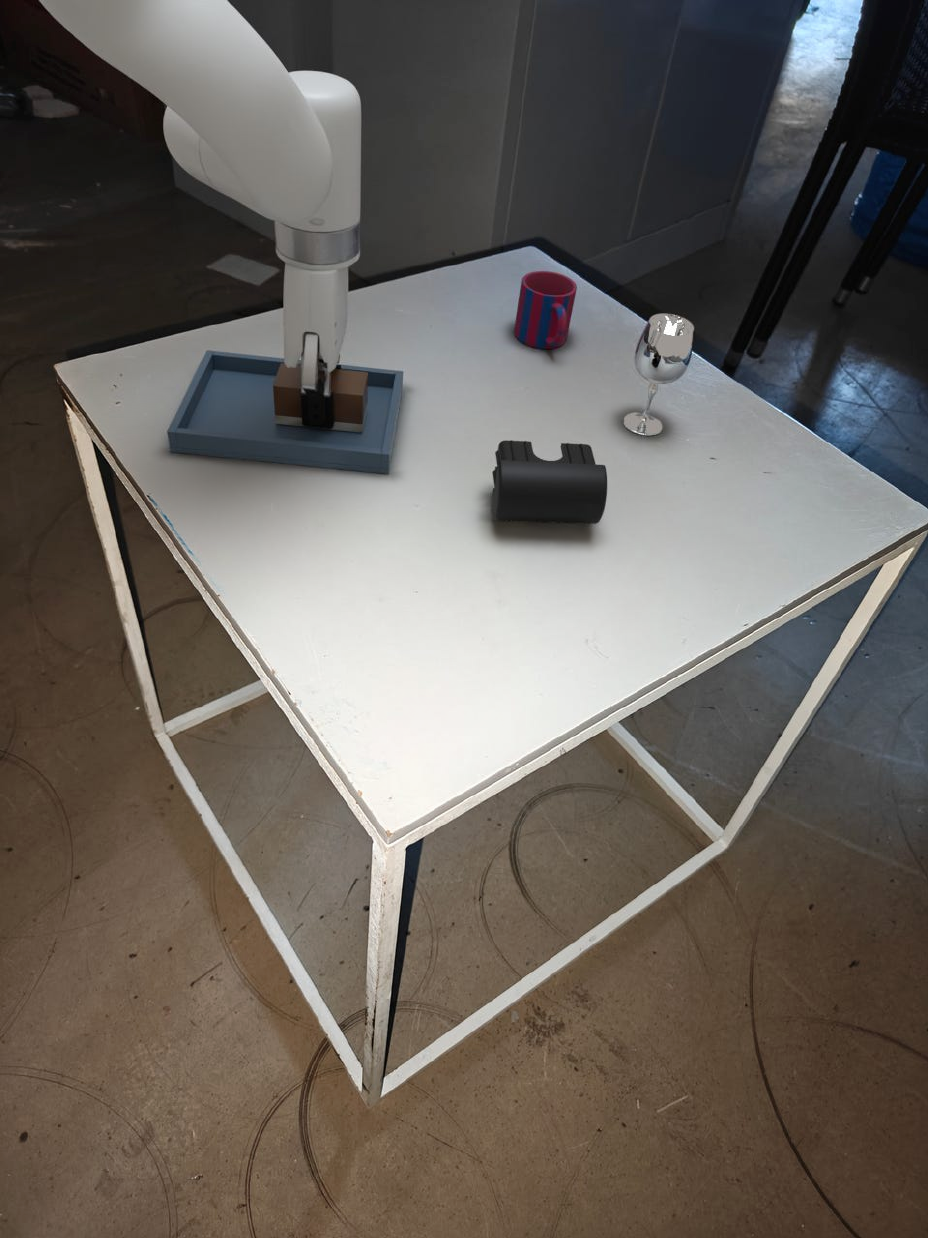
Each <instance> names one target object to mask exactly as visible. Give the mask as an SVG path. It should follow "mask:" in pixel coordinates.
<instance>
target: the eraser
mask: <svg viewBox="0 0 928 1238" xmlns="http://www.w3.org/2000/svg"><path fill="white" fill-rule="evenodd" d="M318 378H319V379H322V381H323V383H324V373H323V372H318ZM331 392H334V426H333V428H332V429H331V430H340V431H349V432H358V433H362V432H363V428H364V423H365V419H366V414H367V408H368V373H367V372H358V371H349V370H340V369H334V370H333V371H331ZM273 396H274V410H275V423H276V424H284V425H293V426H303V427H308V426H304V425H303V424H302V411H301V365H297V366H296V368H288V367H287V366H286V365H285V363H281V365H280V367H279V370H278V373H277V376H276V378H275V381H274V384H273ZM312 428H317V427H312ZM321 429H326V428H321Z"/></svg>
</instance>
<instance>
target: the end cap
mask: <svg viewBox="0 0 928 1238" xmlns="http://www.w3.org/2000/svg"><path fill="white" fill-rule="evenodd" d="M560 451H561V456H562V457H560V458H559V459H555V460H548V459H543V458H540V457H539V456H537V455H536V454H535V453H534V449H533V443H532V441H527V440H512V439H511V440H507V439H506V440H502V441H500V442H499V443H498V446H497V450H496V451H495V453H494V455H495V462H496V466H494V469H493V470H492V472H491V474H492V481H493V487H492V492H491V497H492V499H491V507H490V513H491V517H492V519H493V520H494V521H497V522H512V523H513V522H514V523H515V522H516V523H542V524H566V525H567V524H570V525H591V524H592V525H596V524H598V523H600V522H601V520H602V518H603V515H604V513H605V509H606V504H607V498H608V472H607V466H606V465H605V464H596V460H595V457H594V453H593V448H592V446H591V445H589V444H586V443H569V442H561V443H560Z"/></svg>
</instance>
